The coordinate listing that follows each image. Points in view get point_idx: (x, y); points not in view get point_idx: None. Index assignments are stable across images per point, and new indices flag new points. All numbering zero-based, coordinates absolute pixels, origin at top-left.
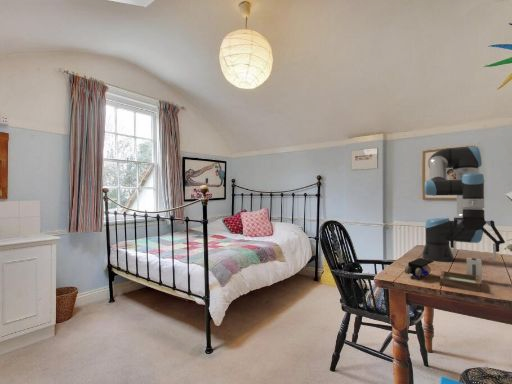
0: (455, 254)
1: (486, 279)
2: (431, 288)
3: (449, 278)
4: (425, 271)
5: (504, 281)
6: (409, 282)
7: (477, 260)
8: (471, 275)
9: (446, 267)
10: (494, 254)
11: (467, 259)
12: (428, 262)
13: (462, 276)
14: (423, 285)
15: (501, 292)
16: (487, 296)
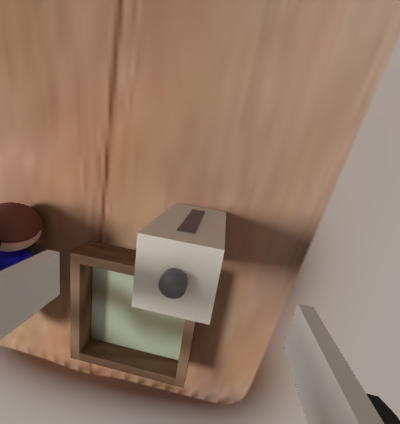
0: (49, 301)
1: (250, 194)
2: (71, 366)
3: (108, 282)
4: (21, 260)
5: (319, 195)
6: (14, 333)
7: (193, 292)
8: None
9: (103, 9)
10: (307, 397)
11: (138, 283)
12: None
13: None
14: (50, 348)
15: (250, 345)
16: (199, 389)
